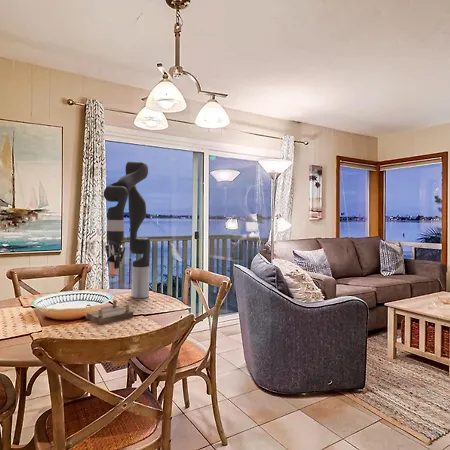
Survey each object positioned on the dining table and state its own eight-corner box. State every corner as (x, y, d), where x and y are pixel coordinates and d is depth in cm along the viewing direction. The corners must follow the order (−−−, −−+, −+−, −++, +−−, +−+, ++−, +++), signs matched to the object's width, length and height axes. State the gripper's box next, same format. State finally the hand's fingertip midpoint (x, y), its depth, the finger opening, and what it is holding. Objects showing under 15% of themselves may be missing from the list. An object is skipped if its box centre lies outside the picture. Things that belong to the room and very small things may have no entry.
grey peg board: (82, 316, 160) (82, 304, 160) (114, 310, 172) (115, 298, 172) (99, 324, 149) (100, 311, 149) (133, 317, 161) (133, 305, 161)
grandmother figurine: (107, 277, 159) (108, 248, 158) (104, 275, 161) (105, 247, 161) (124, 275, 164) (124, 248, 163) (120, 274, 167) (121, 247, 166)
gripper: (131, 230, 160) (130, 268, 160) (114, 229, 170) (113, 265, 170) (116, 230, 155) (115, 270, 155) (99, 229, 164) (99, 267, 164)
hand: (114, 267), depth 162 cm, fingers closed on grandmother figurine, 3 cm apart
